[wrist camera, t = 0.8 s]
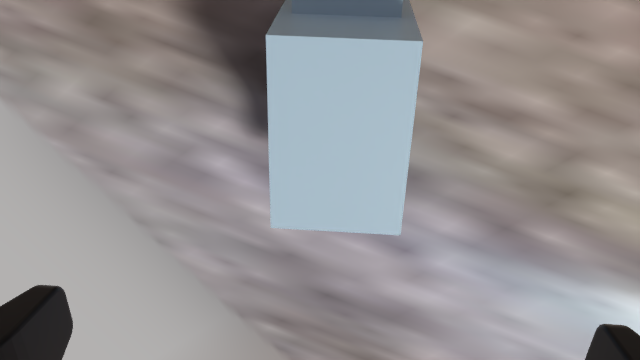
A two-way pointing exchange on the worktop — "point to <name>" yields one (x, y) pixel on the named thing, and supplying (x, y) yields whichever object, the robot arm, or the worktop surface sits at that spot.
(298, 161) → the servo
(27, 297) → the robot arm
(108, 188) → the worktop surface
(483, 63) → the worktop surface
